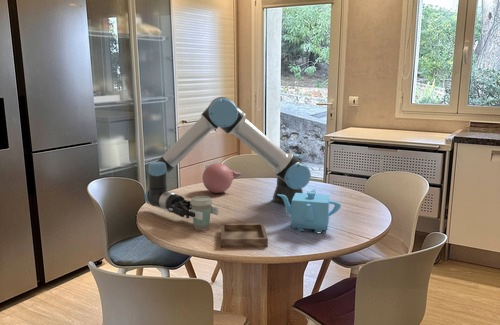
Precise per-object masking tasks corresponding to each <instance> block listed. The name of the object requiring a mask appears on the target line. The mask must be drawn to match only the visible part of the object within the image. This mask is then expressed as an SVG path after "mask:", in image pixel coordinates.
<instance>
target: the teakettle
mask: <svg viewBox="0 0 500 325" xmlns="http://www.w3.org/2000/svg"><path fill="white" fill-rule="evenodd" d="M316 192H317V191H316V189H315V188H312V189H311V190H310V191H307V192H306V193H305V192H303V193H295V195H294V197H293V199H292V202H291V205H290V204H289V201H288V198H287V197H286V196H285V195H282V194H277V195H278V196H280V197H281V198H282V199H283V201H284V204H285V205H284V208H285V209H286V212H287V213H288V214H289V215H290V228H295V229H296V230H297V231H296V232H298V231H303V230H304V231H305V229H308V230H314V233H315V232H322V233H323V231H328V227H329V221H330V217H331V216H333V215H334V214H335V213H337V212H338V211H339V210H340V209H341V207H342V205H341V203H340V202H338V201H335V200H331V194H319V193H316ZM331 205H334V207H333V209H332V210H331V211H330V206H331ZM304 231H303V232H304Z"/></svg>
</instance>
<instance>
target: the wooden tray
mask: <svg viewBox="0 0 500 325" xmlns="http://www.w3.org/2000/svg"><path fill="white" fill-rule="evenodd" d="M220 228H221V229H220V248H268V247H269V241H268V240H269V238H268V235H267V230H266V227H265V224H264V223H263V222H262V223H221V224H220Z"/></svg>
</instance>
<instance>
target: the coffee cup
mask: <svg viewBox="0 0 500 325" xmlns="http://www.w3.org/2000/svg"><path fill="white" fill-rule="evenodd" d="M190 201H191V203H190V204H191V207H192V210H195V211H198V212H202V213H203V220H200V219H196V218H193V217H192V222H193V228H194V229H195V230H197V231H198V230H199V231H200V230H201V231H202V230H203V231H205V230H207V229H208V230H209V228H210V219H211V213H210V212H211V206H212V204H213V201H212V198H211V196H208V195H196V196H192V197H191V198H190ZM191 207H190V208H191Z"/></svg>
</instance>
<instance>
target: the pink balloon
mask: <svg viewBox="0 0 500 325" xmlns="http://www.w3.org/2000/svg"><path fill="white" fill-rule="evenodd" d="M242 175H243V174H242V173H241V172H238V170H233V169H230V168H229V167H228V166H227V165H226V164H223V163H220V162H215V163H211V164H209V165H208V166H207V167H206V168H205V170H204V171H203V174H202V178H201V179H202V183H203V185H204V187H205V189H207V190H208V191H209V192H211V193H215V194H220V193H224V192H226V191H228V190H229V189H230V187H231V186H232V184H233V181H234V179H238V178H239V176H242Z"/></svg>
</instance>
